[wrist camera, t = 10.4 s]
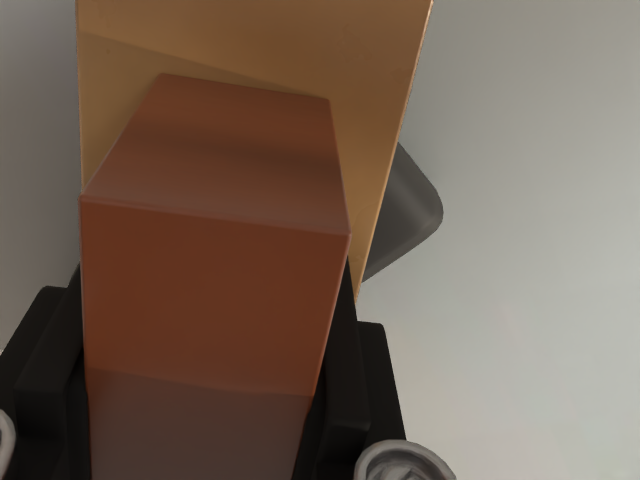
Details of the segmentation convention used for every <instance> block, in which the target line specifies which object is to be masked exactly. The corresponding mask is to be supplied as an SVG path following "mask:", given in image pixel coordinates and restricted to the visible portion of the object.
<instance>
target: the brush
mask: <svg viewBox="0 0 640 480" xmlns="http://www.w3.org/2000/svg"><path fill="white" fill-rule="evenodd" d="M433 3H434V0H75V15H76V43H77V70H78V98H79V126H80V154H81V181H82V192H81V193H80V195H79V197H78V221H79V245H80V270H81V295H82V320H83V344H84V369H85V389H86V392H87V402H88V428H89V454H90V480H292V479H293V474H294V470H295V466H296V462H297V457H298V453H299V449H300V445H301V440H302V436H303V432H304V428H305V423H306V419H307V415H308V413H309V412H310V410H311V407H312V403H313V398H314V394H315V390H316V386H317V382H318V377H319V373H320V369H321V365H322V360H323V356H324V352H325V348H326V344H327V339H328V335H329V331H330V327H331V322H332V318H333V314H334V310H335V306H336V301H337V297H338V293H339V289H340V284H341V280H342V276H343V272H344V268H345V263H346V259H347V255H348V259H349V266H350V273H351V280H352V287H353V294H354V302H355V305H356V301H357V297H358V293H359V289H360V285H361V281H362V277H363V274H364V270H365V266H366V262H367V258H368V254H369V250H370V246H371V243H372V239H373V235H374V231H375V227H376V223H377V219H378V215H379V212H380V208H381V204H382V200H383V196H384V192H385V188H386V185H387V181H388V177H389V173H390V169H391V165H392V161H393V157H394V154H395V150H396V146H397V142H398V138H399V134H400V130H401V126H402V123H403V119H404V115H405V111H406V107H407V103H408V99H409V96H410V92H411V88H412V84H413V80H414V76H415V72H416V68H417V65H418V61H419V57H420V53H421V49H422V45H423V41H424V37H425V34H426V30H427V26H428V22H429V18H430V14H431V10H432V7H433Z"/></svg>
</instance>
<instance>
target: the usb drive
mask: <svg viewBox="0 0 640 480" xmlns="http://www.w3.org/2000/svg"><path fill="white" fill-rule="evenodd" d="M442 219H443V206H442V202H441V200H440V197H439V195H438V193H437V191H436V189H435V188H434V186H433V185H432V184H431V183H430V181H429V180H428V179H427V178H426V176H425V175H424V174H423V173H422V171H421V170H420V169H419V167H418V166H417V165H416V164H415V162H414V161H413V160H412V159H411V157H410V156H409V155H408V153H407V152H406V151H405V150H404V148H403V147H402V146H401V145H400V143H399V142H397V146H396V150H395V154H394V157H393V161H392V165H391V169H390V173H389V177H388V181H387V185H386V188H385V192H384V196H383V200H382V204H381V208H380V212H379V215H378V219H377V223H376V227H375V231H374V235H373V239H372V243H371V246H370V250H369V254H368V258H367V262H366V266H365V270H364V274H363V277H362V281H361V283H362V282H364V281H365V280H367V279H368V278H370V277H371V276H373V275H374V274H376V273H377V272H379V271H380V270H382V269H383V268H385V267H386V266H388V265H389V264H391V263H392V262H394V261H395V260H397V259H398V258H400V257H401V256H403V255H404V254H406V253H407V252H409V251H410V250H412V249H413V248H414V247H416V246H417V245H419V244H420V243H421V242H423V241H424V240H426V239H427V238H428V237H429V236H430V235H431V234H433V233H434V232H435V231H436V230H437V229H438V227H439V226H440V224H441V222H442ZM79 265H80V261H79V263H78V265H77V267H76V269H75V271H74V273H73V275H72V277H71V280H72V278H73V276H74V274H75V272H76V271H77V269H78V267H79ZM71 280H70V282H71ZM70 282H69V283H70Z"/></svg>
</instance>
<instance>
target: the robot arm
mask: <svg viewBox="0 0 640 480" xmlns="http://www.w3.org/2000/svg"><path fill="white" fill-rule="evenodd" d="M0 480H90V454H89V428H88V402H87V392H86V389H85V369H84V344H83V320H82V295H81V270H80V265H79V267H78V269H77V271H76V272H75V274H74V276H73V278H72V280H71V282H70V283H69V285H68V287H67V288H62V287H54V286H45V287H43V288H42V289H41V290H40V292H39V293H38V294H37V296H36V298H35V299H34V301H33V303H32V304H31V306H30V308H29V309H28V311H27V313H26V314H25V316H24V318H23V319H22V321H21V323H20V324H19V326H18V328H17V329H16V331H15V333H14V334H13V336H12V338H11V339H10V341H9V343H8V344H7V346H6V347H5V349H4V351H3V352H2V354H1V356H0ZM292 480H457V479H456V476H455V475H454V473H453V472H452V471H451V469H450V468H449V466H448V465H447V464H446V463H445V462H444V461H443V460H442V459H441V458H440V457H439V456H437V455H436V454H435V453H434V452H433V451H431V450H429V449H427V448H425V447H423V446H421V445H419V444H417V443H413V442H409V441H407V440H406V435H405V430H404V425H403V420H402V415H401V410H400V405H399V400H398V395H397V390H396V385H395V380H394V374H393V369H392V364H391V359H390V354H389V349H388V344H387V339H386V334H385V330H384V327H383V325H382V324H380V323H371V322H362V321H357V316H356V309H355V302H354V294H353V287H352V280H351V273H350V266H349V259H348V255H347V259H346V263H345V268H344V272H343V276H342V280H341V284H340V289H339V293H338V297H337V301H336V306H335V310H334V314H333V318H332V322H331V327H330V331H329V335H328V339H327V344H326V348H325V352H324V356H323V360H322V365H321V369H320V373H319V377H318V382H317V386H316V390H315V394H314V398H313V403H312V407H311V410H310V412H309V413H308V415H307V419H306V423H305V428H304V432H303V436H302V440H301V445H300V449H299V453H298V457H297V462H296V466H295V470H294V474H293V479H292Z"/></svg>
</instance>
